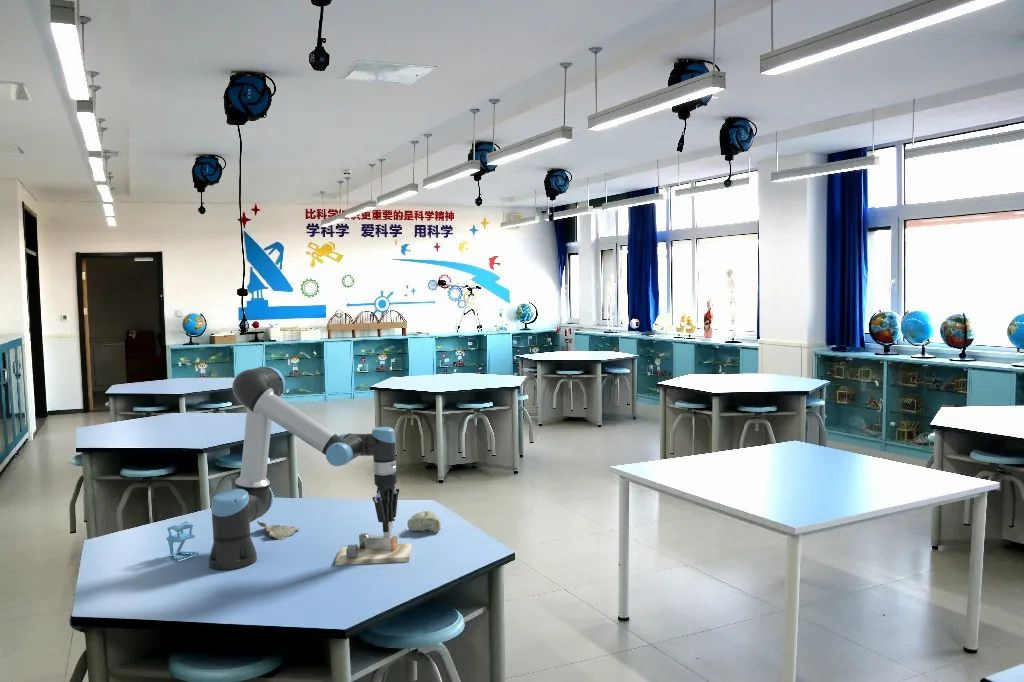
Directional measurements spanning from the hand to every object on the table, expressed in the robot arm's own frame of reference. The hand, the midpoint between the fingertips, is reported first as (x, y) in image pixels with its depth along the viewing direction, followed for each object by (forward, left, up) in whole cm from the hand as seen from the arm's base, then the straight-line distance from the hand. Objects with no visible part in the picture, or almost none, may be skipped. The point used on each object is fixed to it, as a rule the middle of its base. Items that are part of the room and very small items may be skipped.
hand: (388, 540), depth 262 cm
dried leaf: (-44, +28, -5) cm, 52 cm away
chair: (-71, +6, -4) cm, 72 cm away
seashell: (+12, +22, -4) cm, 25 cm away
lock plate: (-4, -4, -4) cm, 7 cm away
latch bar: (-4, -1, -2) cm, 4 cm away
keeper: (-11, -7, -2) cm, 14 cm away
